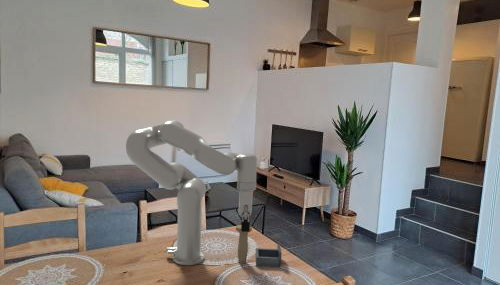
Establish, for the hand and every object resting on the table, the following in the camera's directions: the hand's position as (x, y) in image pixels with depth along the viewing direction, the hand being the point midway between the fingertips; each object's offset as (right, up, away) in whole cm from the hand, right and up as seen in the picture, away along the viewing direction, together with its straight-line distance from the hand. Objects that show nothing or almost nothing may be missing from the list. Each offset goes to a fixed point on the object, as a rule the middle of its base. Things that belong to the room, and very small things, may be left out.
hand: (245, 226), depth 142 cm
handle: (-1, -15, +2) cm, 15 cm away
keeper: (+9, -15, +4) cm, 18 cm away
